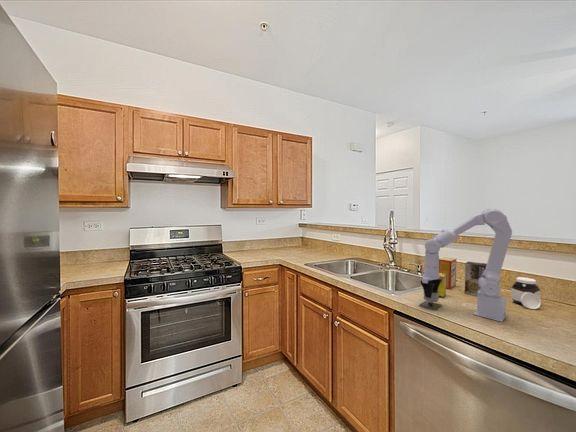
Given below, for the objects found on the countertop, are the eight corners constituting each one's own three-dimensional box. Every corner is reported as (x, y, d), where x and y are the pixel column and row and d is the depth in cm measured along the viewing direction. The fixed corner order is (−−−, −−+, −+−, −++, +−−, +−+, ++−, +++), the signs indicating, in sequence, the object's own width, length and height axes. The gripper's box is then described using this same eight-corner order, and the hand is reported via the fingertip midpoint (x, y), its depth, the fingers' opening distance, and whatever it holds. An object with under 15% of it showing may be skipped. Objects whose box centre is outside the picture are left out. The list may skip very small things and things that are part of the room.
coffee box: (487, 294, 137) (488, 263, 137) (485, 297, 133) (486, 265, 132) (466, 290, 143) (467, 261, 143) (464, 293, 139) (465, 262, 138)
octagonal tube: (439, 300, 121) (439, 291, 121) (434, 302, 117) (435, 293, 117) (427, 297, 125) (427, 288, 125) (422, 299, 121) (422, 290, 121)
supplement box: (432, 292, 140) (433, 272, 140) (445, 295, 136) (446, 274, 136) (430, 295, 135) (430, 274, 135) (443, 298, 132) (444, 276, 131)
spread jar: (525, 300, 130) (526, 276, 129) (552, 309, 118) (553, 283, 118) (504, 301, 127) (505, 277, 127) (529, 310, 116) (530, 284, 116)
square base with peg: (441, 306, 121) (442, 297, 121) (435, 310, 116) (436, 300, 116) (425, 302, 126) (425, 293, 126) (419, 305, 121) (419, 296, 121)
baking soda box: (442, 283, 157) (443, 256, 156) (455, 286, 152) (456, 258, 151) (437, 286, 150) (437, 258, 150) (450, 289, 146) (451, 260, 145)
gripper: (428, 262, 128) (428, 290, 129) (415, 266, 119) (414, 297, 119) (445, 265, 123) (444, 294, 123) (432, 269, 113) (431, 301, 114)
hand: (430, 296), depth 121 cm, fingers closed on octagonal tube, 5 cm apart
